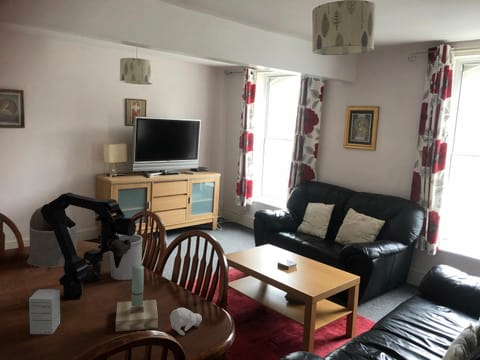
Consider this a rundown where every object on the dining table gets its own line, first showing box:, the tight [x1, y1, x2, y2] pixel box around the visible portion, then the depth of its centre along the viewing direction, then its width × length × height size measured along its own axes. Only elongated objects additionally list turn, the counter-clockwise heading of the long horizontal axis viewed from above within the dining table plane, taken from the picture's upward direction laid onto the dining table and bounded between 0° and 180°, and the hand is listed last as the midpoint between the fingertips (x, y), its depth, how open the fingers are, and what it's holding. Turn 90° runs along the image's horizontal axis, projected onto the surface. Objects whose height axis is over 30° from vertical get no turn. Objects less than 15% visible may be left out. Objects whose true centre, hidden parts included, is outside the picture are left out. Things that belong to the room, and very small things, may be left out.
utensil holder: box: [109, 233, 143, 281], centre depth 177 cm, size 15×15×18 cm
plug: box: [131, 265, 145, 307], centre depth 137 cm, size 4×4×14 cm
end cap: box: [84, 261, 102, 283], centre depth 171 cm, size 10×7×7 cm
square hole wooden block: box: [115, 299, 159, 332], centre depth 138 cm, size 14×14×4 cm
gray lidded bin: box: [27, 206, 80, 268], centre depth 188 cm, size 23×32×25 cm
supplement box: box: [28, 288, 61, 335], centre depth 129 cm, size 7×7×13 cm
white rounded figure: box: [169, 307, 203, 336], centre depth 134 cm, size 6×8×12 cm
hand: (108, 271), depth 148 cm, fingers open, 9 cm apart
